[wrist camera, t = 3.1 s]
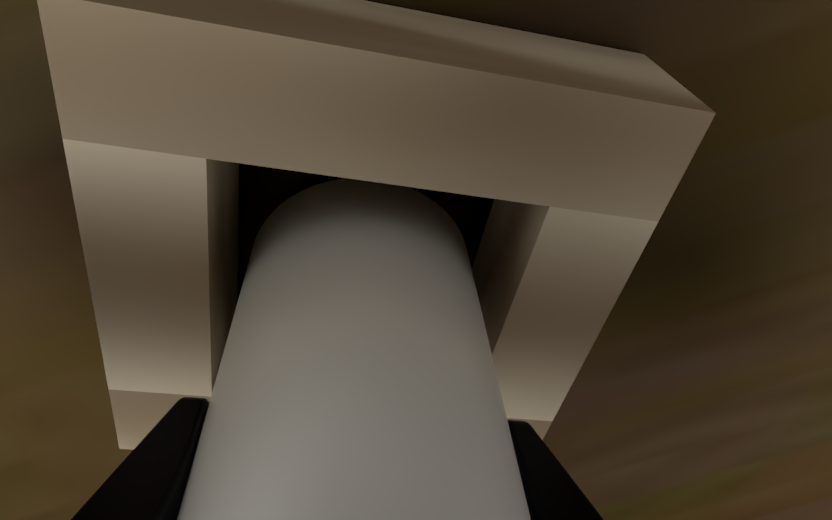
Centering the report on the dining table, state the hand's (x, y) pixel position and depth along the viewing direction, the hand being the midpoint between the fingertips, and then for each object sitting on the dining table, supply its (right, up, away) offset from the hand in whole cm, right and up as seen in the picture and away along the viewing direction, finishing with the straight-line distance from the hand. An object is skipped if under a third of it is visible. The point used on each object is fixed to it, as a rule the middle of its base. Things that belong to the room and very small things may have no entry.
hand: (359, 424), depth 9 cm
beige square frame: (0, +4, +4) cm, 5 cm away
